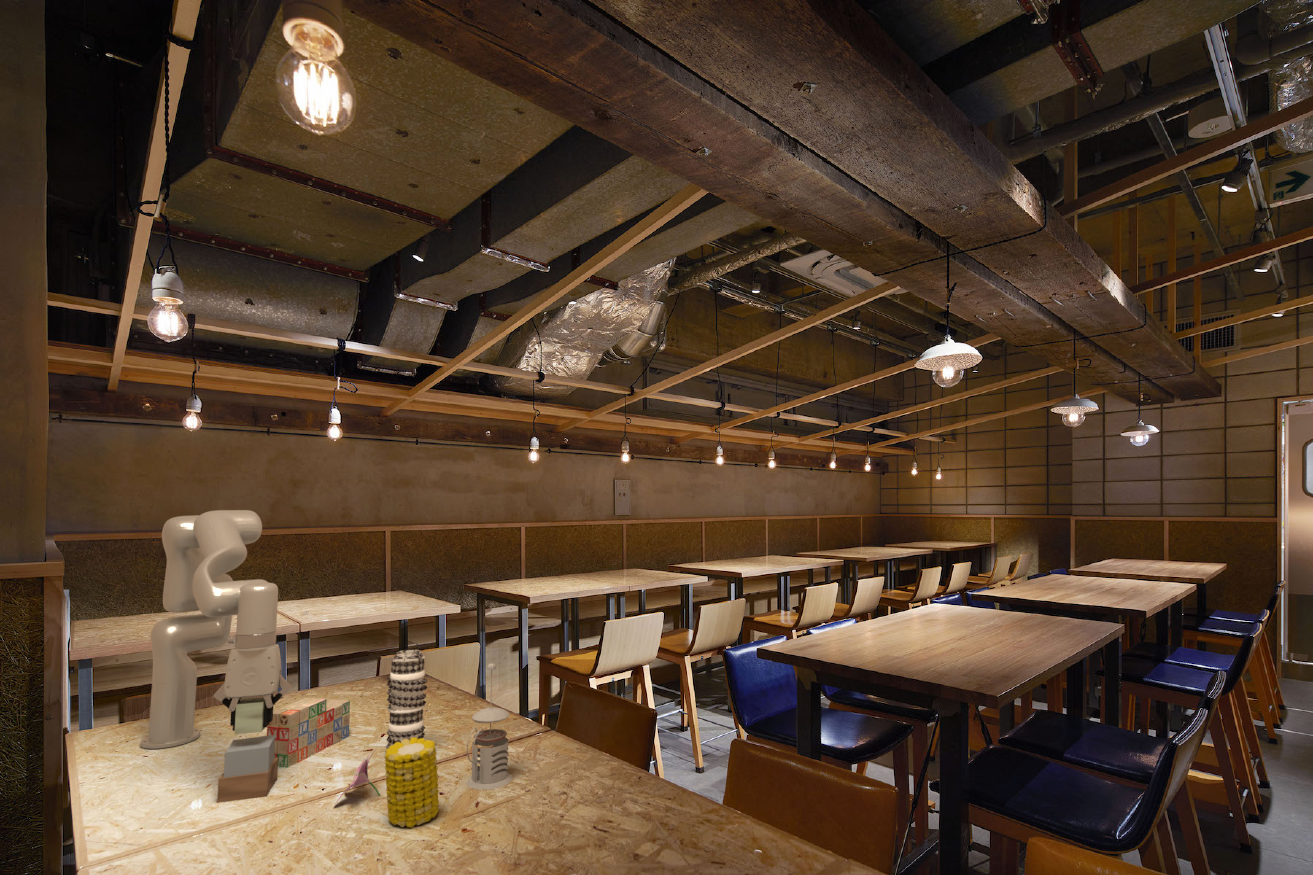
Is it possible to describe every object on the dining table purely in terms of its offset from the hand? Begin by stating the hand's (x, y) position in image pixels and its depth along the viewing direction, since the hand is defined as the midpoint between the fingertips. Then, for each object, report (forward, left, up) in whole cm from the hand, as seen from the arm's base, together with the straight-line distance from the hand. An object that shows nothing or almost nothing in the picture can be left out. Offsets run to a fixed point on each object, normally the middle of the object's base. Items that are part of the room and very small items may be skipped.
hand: (251, 726), depth 141 cm
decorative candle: (-8, +31, -13) cm, 35 cm away
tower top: (0, 0, -9) cm, 9 cm away
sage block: (0, 0, -1) cm, 1 cm away
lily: (+11, +23, -14) cm, 29 cm away
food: (+25, +34, -14) cm, 44 cm away
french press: (+12, +49, -14) cm, 52 cm away
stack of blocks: (-22, +8, -14) cm, 27 cm away
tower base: (0, 0, -14) cm, 14 cm away
